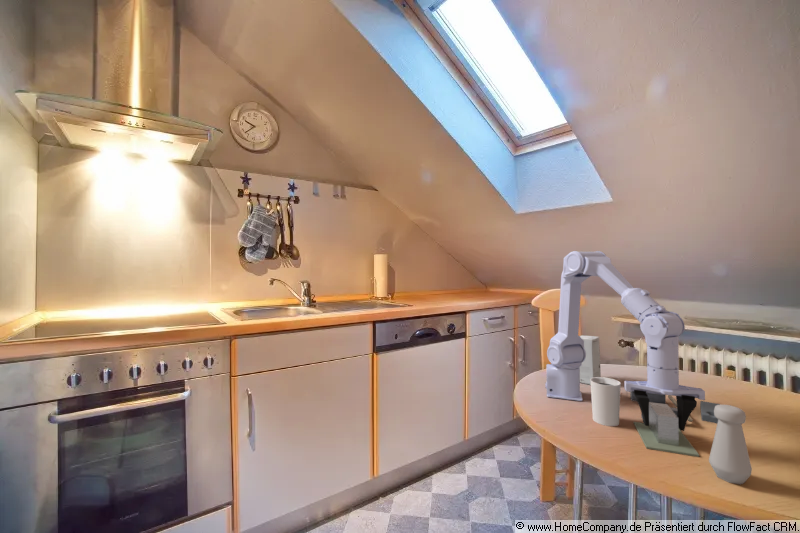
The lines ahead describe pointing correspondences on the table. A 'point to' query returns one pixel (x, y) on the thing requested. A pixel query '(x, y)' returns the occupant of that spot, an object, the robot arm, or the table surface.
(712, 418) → the bracket
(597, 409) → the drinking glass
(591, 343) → the skincare box
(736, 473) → the salt shaker
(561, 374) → the robot arm
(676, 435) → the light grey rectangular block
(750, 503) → the table surface
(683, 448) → the mat
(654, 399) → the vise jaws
